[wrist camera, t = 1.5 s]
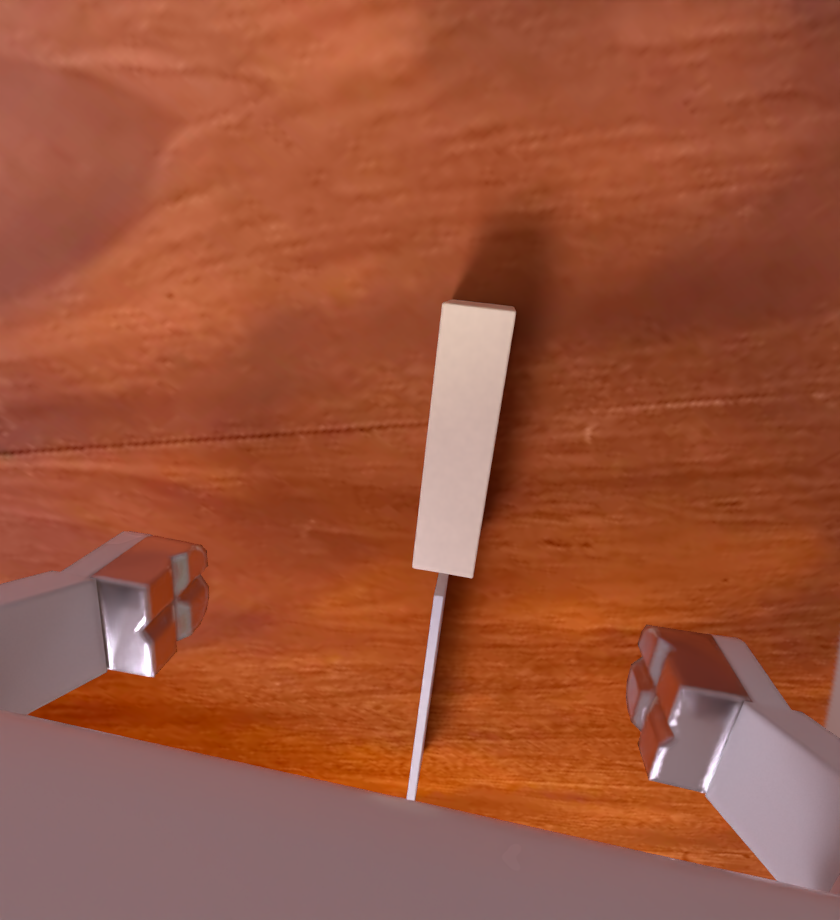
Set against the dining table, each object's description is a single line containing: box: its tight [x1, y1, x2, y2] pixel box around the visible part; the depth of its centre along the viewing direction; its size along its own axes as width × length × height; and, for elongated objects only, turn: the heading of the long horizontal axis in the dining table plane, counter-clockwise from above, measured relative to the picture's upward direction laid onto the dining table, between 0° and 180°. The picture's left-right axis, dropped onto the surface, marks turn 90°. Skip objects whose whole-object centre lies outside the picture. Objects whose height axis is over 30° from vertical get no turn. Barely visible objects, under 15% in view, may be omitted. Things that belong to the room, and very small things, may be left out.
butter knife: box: [407, 299, 516, 801], centre depth 22 cm, size 23×2×3 cm, turn 174°
